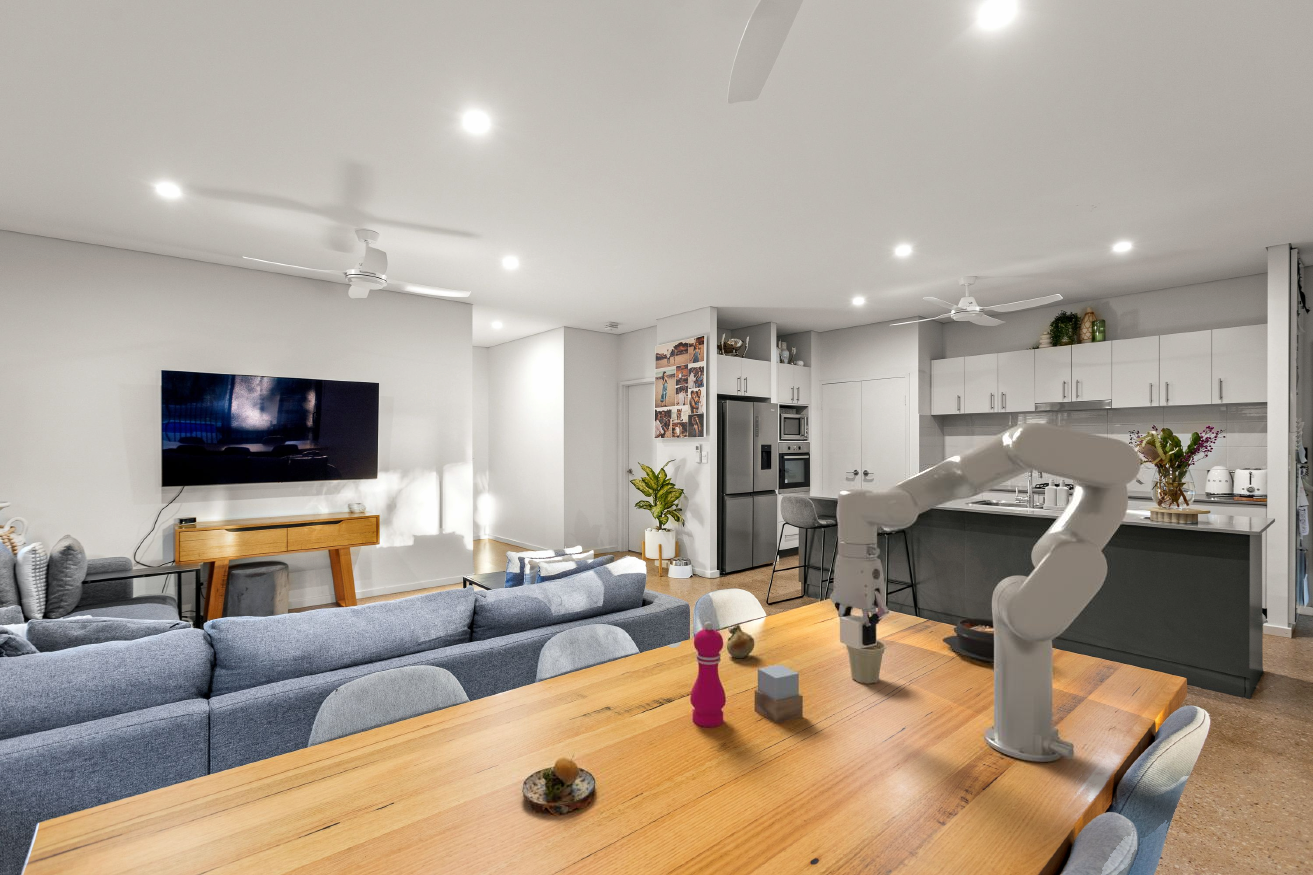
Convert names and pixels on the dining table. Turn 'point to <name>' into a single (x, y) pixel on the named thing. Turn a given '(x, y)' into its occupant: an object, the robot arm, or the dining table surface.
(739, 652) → the onion
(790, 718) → the walnut block
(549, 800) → the small plate of food
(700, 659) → the pepper mill
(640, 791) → the dining table surface
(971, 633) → the casserole
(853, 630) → the cream block
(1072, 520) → the robot arm
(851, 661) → the flower pot
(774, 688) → the slate block
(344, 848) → the dining table surface
